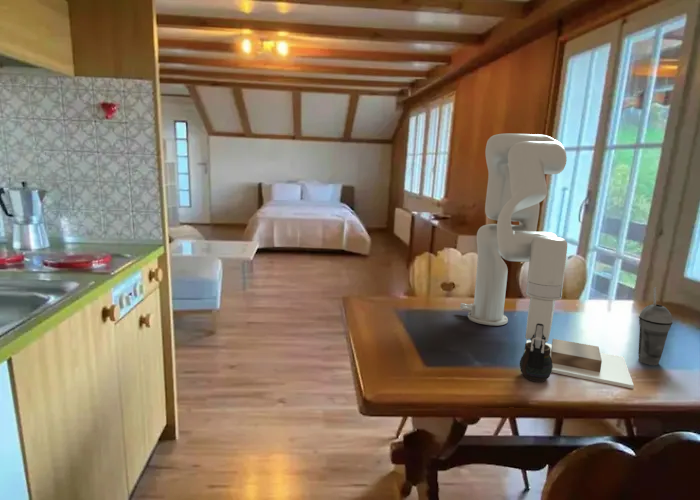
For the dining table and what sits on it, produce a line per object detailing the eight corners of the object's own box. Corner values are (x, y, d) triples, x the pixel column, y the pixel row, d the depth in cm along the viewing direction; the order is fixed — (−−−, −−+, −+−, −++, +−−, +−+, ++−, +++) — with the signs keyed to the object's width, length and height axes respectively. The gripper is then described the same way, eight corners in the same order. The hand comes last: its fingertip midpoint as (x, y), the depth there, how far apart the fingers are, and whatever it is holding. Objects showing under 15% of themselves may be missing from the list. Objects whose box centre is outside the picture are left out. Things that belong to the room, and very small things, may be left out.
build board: (521, 366, 112) (522, 363, 112) (526, 342, 128) (526, 339, 128) (633, 388, 102) (633, 385, 102) (623, 359, 118) (623, 356, 118)
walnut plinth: (550, 362, 113) (552, 351, 112) (551, 349, 122) (552, 338, 121) (600, 372, 108) (601, 360, 108) (596, 357, 117) (598, 346, 117)
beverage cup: (666, 370, 113) (679, 293, 109) (632, 362, 116) (644, 288, 113) (664, 360, 119) (676, 287, 115) (632, 353, 122) (643, 283, 119)
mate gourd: (534, 387, 101) (539, 345, 100) (510, 373, 108) (514, 334, 106) (558, 381, 104) (562, 341, 102) (533, 368, 111) (536, 330, 109)
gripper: (528, 280, 112) (521, 345, 114) (523, 296, 96) (516, 370, 99) (561, 284, 108) (553, 351, 111) (562, 301, 93) (553, 378, 96)
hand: (536, 360), depth 105 cm, fingers open, 9 cm apart
